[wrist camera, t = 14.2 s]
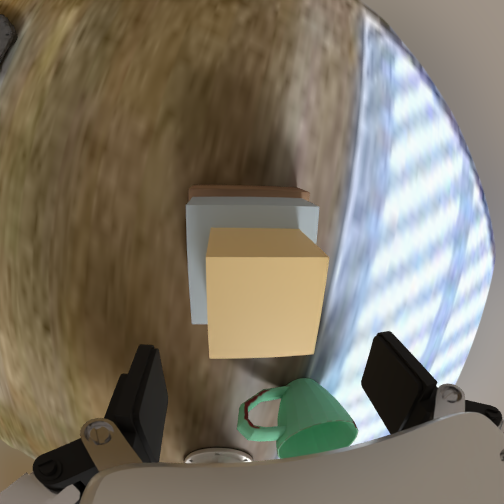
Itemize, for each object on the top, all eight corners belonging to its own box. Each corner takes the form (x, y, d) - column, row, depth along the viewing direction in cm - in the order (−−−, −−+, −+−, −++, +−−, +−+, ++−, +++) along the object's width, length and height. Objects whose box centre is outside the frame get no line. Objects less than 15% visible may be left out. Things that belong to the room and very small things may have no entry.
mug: (345, 369, 36) (373, 420, 26) (313, 413, 38) (331, 463, 29) (246, 350, 33) (256, 413, 23) (222, 401, 35) (224, 460, 26)
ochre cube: (291, 306, 21) (313, 354, 16) (211, 307, 21) (209, 358, 15) (299, 228, 19) (329, 257, 14) (210, 227, 19) (205, 257, 13)
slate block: (294, 295, 26) (307, 320, 22) (196, 297, 25) (192, 324, 21) (302, 198, 23) (319, 206, 19) (192, 196, 22) (185, 205, 18)
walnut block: (288, 280, 31) (299, 300, 26) (195, 280, 30) (191, 300, 25) (296, 187, 28) (309, 192, 23) (193, 184, 26) (188, 189, 22)
